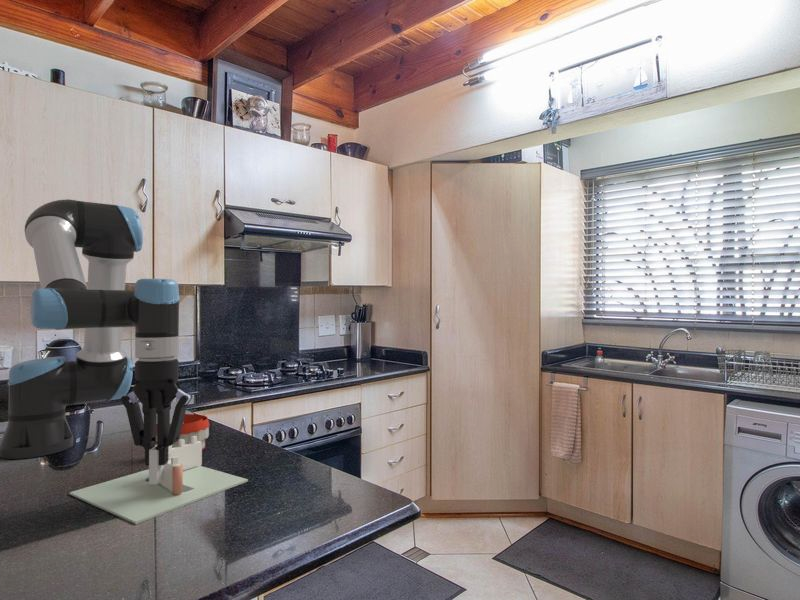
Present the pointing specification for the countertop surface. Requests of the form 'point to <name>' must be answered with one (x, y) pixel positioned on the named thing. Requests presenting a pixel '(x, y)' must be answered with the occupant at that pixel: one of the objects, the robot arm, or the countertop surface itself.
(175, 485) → the swing panel
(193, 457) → the fixed fence
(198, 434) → the toy
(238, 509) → the countertop surface
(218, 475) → the card
